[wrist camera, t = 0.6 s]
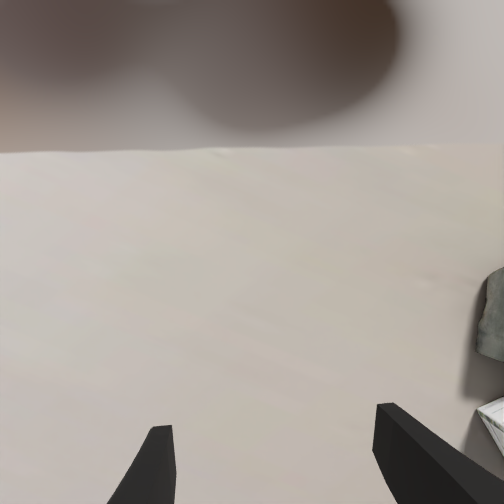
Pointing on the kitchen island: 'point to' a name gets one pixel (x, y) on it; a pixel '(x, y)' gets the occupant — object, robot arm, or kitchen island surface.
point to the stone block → (493, 319)
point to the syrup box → (494, 420)
